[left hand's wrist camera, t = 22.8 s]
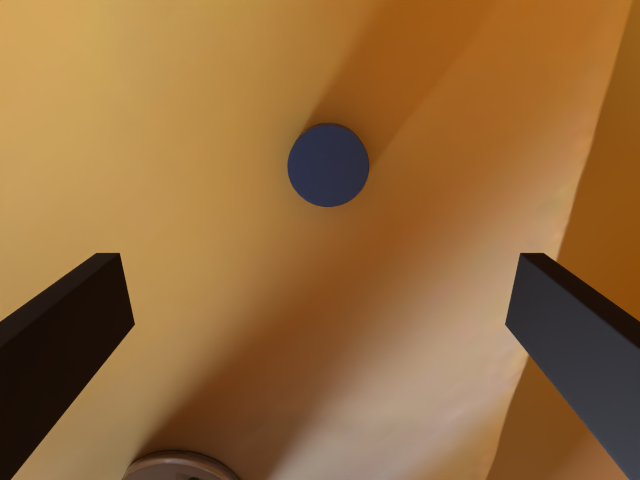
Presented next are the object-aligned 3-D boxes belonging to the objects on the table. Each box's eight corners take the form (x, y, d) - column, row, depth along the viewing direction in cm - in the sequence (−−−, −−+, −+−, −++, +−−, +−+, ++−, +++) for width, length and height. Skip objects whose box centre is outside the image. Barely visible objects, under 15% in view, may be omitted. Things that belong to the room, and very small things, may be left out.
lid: (289, 197, 32) (287, 205, 30) (290, 121, 30) (287, 123, 28) (362, 200, 33) (365, 208, 30) (369, 124, 30) (372, 127, 28)
